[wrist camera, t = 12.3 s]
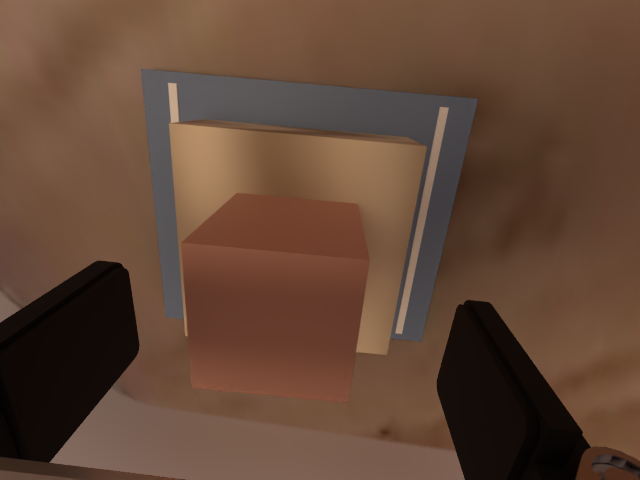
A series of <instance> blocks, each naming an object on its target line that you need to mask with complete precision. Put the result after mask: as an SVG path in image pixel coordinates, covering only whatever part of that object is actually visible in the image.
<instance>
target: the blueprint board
mask: <svg viewBox="0 0 640 480" xmlns="http://www.w3.org/2000/svg"><path fill="white" fill-rule="evenodd" d="M141 75H142V85H143V94H144V104H145V114H146V124H147V134H148V144H149V154H150V164H151V174H152V184H153V194H154V204H155V214H156V224H157V234H158V244H159V254H160V264H161V274H162V283H163V293H164V303H165V313H166V317H167V318H178V319H184V312H183V299H182V286H181V273H180V260H179V247H178V234H177V222H176V209H175V196H174V183H173V170H172V157H171V144H170V131H169V123H175V122H184V121H193V120H202V119H210V120H221V121H232V122H243V123H254V124H266V125H277V126H288V127H299V128H310V129H322V130H333V131H344V132H355V133H366V134H378V135H389V136H400V137H408V138H410V139H412V140H414V141H417V142H419V143H421V144H423V145H425V146H427V150H426V155H425V160H424V165H423V170H422V176H421V181H420V186H419V191H418V196H417V202H416V207H415V212H414V217H413V222H412V227H411V233H410V238H409V243H408V248H407V253H406V259H405V264H404V269H403V274H402V279H401V285H400V290H399V295H398V300H397V305H396V310H395V316H394V321H393V326H392V331H391V336H390V339H399V340H410V341H420V342H421V340H422V336H423V332H424V327H425V323H426V319H427V315H428V310H429V306H430V302H431V298H432V293H433V289H434V285H435V280H436V276H437V272H438V268H439V263H440V259H441V255H442V251H443V246H444V242H445V238H446V234H447V229H448V225H449V221H450V217H451V212H452V208H453V204H454V200H455V195H456V191H457V187H458V182H459V178H460V174H461V170H462V165H463V161H464V157H465V153H466V148H467V144H468V140H469V136H470V131H471V127H472V123H473V119H474V114H475V110H476V106H477V102H478V99H476V98H464V97H453V96H442V95H430V94H419V93H408V92H396V91H385V90H374V89H362V88H351V87H340V86H328V85H317V84H306V83H294V82H283V81H271V80H260V79H249V78H237V77H226V76H215V75H203V74H192V73H181V72H169V71H158V70H147V69H141Z"/></svg>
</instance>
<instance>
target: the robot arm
mask: <svg viewBox="0 0 640 480" xmlns="http://www.w3.org/2000/svg"><path fill="white" fill-rule="evenodd" d="M138 351H139V338H138V332H137V325H136V318H135V311H134V305H133V298H132V291H131V285H130V278H129V273H128V270H127V269H125V268H124V267H123V266H122V264H120V263H117V262H107V261H96V262H94V263H92V264H91V265H89V266H88V267H86V268H85V269H83V270H82V271H80V272H78V273H77V274H75V275H74V276H72V277H71V278H69V279H68V280H66V281H64V282H63V283H61V284H60V285H58V286H57V287H55V288H54V289H52V290H50V291H49V292H47V293H46V294H44V295H43V296H41V297H40V298H38V299H36V300H35V301H33V302H32V303H30V304H29V305H27V306H26V307H24V308H22V309H21V310H19V311H18V312H16V313H15V314H13V315H11V316H10V317H8V318H7V319H5V320H4V321H2V322H1V323H0V480H184V479H175V478H168V477H160V476H152V475H144V474H136V473H128V472H120V471H112V470H103V469H95V468H86V467H79V466H70V465H62V464H54V463H49V462H50V461H51V460H52V459H53V458H54V456H55V455H56V454H57V453H58V451H59V450H60V449H61V448H62V447H63V445H64V444H65V443H66V442H67V440H68V439H69V438H70V437H71V436H72V434H73V433H74V432H75V431H76V429H77V428H78V427H79V426H80V424H81V423H82V422H83V421H84V420H85V419H86V417H87V416H88V415H89V414H90V412H91V411H92V410H93V409H94V407H95V406H96V405H97V404H98V403H99V401H100V400H101V399H102V398H103V397H104V395H105V394H106V393H107V392H108V390H109V389H110V388H111V387H112V386H113V384H114V383H115V382H116V381H117V379H118V378H119V377H120V376H121V375H122V373H123V372H124V371H125V370H126V368H127V367H128V366H129V365H130V364H131V362H132V361H133V360H134V359H135V357H136V356H137V354H138ZM437 392H438V395H439V399H440V402H441V405H442V408H443V411H444V414H445V418H446V421H447V424H448V427H449V430H450V434H451V437H452V440H453V443H454V446H455V449H456V453H457V456H458V459H459V462H460V465H461V468H462V471H463V475H464V478H465V480H640V461H639V460H637V459H636V458H634V457H632V456H629V455H627V454H625V453H623V452H621V451H618V450H615V449H611V448H608V447H595V446H594V447H592V448H591V447H590V445H589V444H588V443H587V441H586V440H585V438H584V437H583V436H582V433H583V432H582V430H581V429H580V427H579V426H578V425H577V423H576V422H575V420H574V419H573V418H572V416H571V415H570V413H569V412H568V411H567V409H566V408H565V406H564V405H563V404H562V402H561V401H560V399H559V398H558V397H557V395H556V394H555V393H554V391H553V390H552V388H551V387H550V386H549V384H548V383H547V381H546V380H545V379H544V377H543V376H542V374H541V373H540V372H539V370H538V369H537V367H536V366H535V365H534V363H533V362H532V360H531V359H530V358H529V356H528V355H527V353H526V352H525V351H524V349H523V348H522V346H521V345H520V344H519V342H518V341H517V339H516V338H515V337H514V335H513V334H512V332H511V331H510V330H509V328H508V327H507V325H506V324H505V323H504V321H503V320H502V318H501V317H500V316H499V314H498V313H497V311H496V310H495V309H494V307H493V306H492V304H490V303H489V302H483V301H473V300H467V301H465V303H464V305H462V304H460V305H458V307H457V309H456V313H455V316H454V320H453V323H452V327H451V331H450V334H449V338H448V342H447V345H446V349H445V352H444V356H443V360H442V363H441V367H440V370H439V374H438V378H437Z"/></svg>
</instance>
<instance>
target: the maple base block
mask: <svg viewBox="0 0 640 480" xmlns="http://www.w3.org/2000/svg"><path fill="white" fill-rule="evenodd" d="M169 131H170V144H171V157H172V170H173V183H174V196H175V209H176V222H177V234H178V247H179V260H180V273H181V286H182V299H183V312H184V325H185V336H188V331H187V318H186V304H185V291H184V278H183V264H182V251H181V242H182V241H183V240H184V239H186V238H187V237H188V236H189V235H190V234H191V233H192V232H193V231H195V230H196V229H197V228H198V227H199V226H200V225H201V224H202V223H204V222H205V221H206V220H207V219H208V218H209V217H210V216H211V215H212V214H214V213H215V212H216V211H217V210H218V209H219V208H220V207H221V206H223V205H224V204H225V203H226V202H227V201H228V200H229V199H230V198H232V197H233V196H234V195H235V194H236V193H245V194H256V195H267V196H278V197H289V198H300V199H311V200H322V201H333V202H344V203H355V204H358V208H359V213H360V217H361V222H362V227H363V231H364V236H365V240H366V245H367V249H368V254H369V258H370V263H369V269H368V276H367V283H366V289H365V296H364V303H363V309H362V316H361V323H360V329H359V336H358V343H357V349H356V352H361V353H372V354H382V355H387V352H388V347H389V342H390V336H391V331H392V326H393V321H394V316H395V310H396V305H397V300H398V295H399V290H400V285H401V279H402V274H403V269H404V264H405V259H406V253H407V248H408V243H409V238H410V233H411V227H412V222H413V217H414V212H415V207H416V202H417V196H418V191H419V186H420V181H421V176H422V170H423V165H424V160H425V155H426V150H427V146H425V145H423V144H421V143H419V142H417V141H414V140H412V139H410V138H408V137H400V136H389V135H378V134H366V133H355V132H344V131H333V130H322V129H310V128H299V127H288V126H277V125H266V124H254V123H243V122H232V121H221V120H210V119H202V120H193V121H184V122H175V123H169Z"/></svg>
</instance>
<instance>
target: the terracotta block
mask: <svg viewBox="0 0 640 480" xmlns="http://www.w3.org/2000/svg"><path fill="white" fill-rule="evenodd" d="M181 251H182V264H183V278H184V291H185V304H186V318H187V331H188V344H189V358H190V371H191V385H192V388H199V389H209V390H220V391H230V392H241V393H251V394H261V395H272V396H282V397H293V398H303V399H313V400H324V401H334V402H344V403H349V396H350V389H351V383H352V376H353V369H354V363H355V356H356V349H357V343H358V336H359V329H360V323H361V316H362V309H363V303H364V296H365V289H366V283H367V276H368V269H369V263H370V258H369V254H368V249H367V245H366V240H365V236H364V231H363V227H362V222H361V217H360V213H359V208H358V204H355V203H344V202H333V201H322V200H311V199H300V198H289V197H278V196H267V195H256V194H245V193H236V194H235V195H234V196H233V197H232V198H230V199H229V200H228V201H227V202H226V203H225V204H224V205H223V206H221V207H220V208H219V209H218V210H217V211H216V212H215V213H214V214H212V215H211V216H210V217H209V218H208V219H207V220H206V221H205V222H204V223H202V224H201V225H200V226H199V227H198V228H197V229H196V230H195V231H193V232H192V233H191V234H190V235H189V236H188V237H187V238H186V239H184V240H183V241H182V242H181Z"/></svg>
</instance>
